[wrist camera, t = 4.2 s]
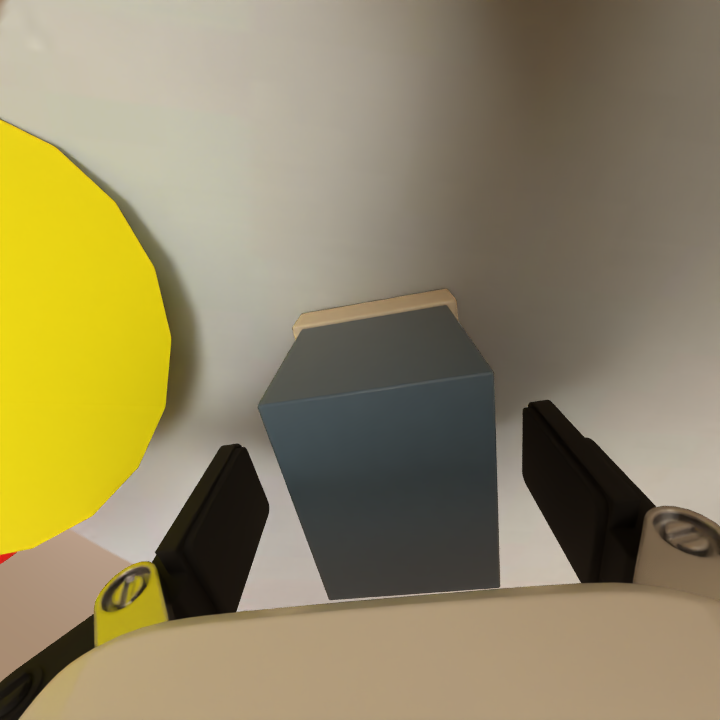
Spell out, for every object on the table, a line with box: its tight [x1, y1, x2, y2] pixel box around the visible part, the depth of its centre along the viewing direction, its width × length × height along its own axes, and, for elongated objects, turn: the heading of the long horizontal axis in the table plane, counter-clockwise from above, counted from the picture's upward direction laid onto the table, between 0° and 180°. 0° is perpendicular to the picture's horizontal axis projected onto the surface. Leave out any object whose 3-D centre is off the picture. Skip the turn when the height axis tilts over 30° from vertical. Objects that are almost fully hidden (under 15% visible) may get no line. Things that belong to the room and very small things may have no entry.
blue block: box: [258, 289, 500, 600], centre depth 11 cm, size 9×5×6 cm, turn 11°
